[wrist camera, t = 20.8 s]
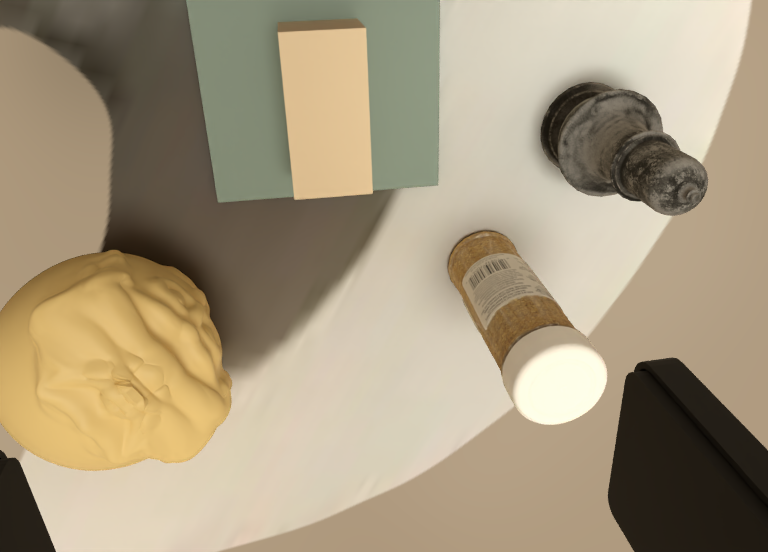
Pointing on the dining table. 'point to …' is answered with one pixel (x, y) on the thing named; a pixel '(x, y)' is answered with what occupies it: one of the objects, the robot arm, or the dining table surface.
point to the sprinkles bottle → (526, 332)
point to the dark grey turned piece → (620, 149)
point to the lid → (318, 95)
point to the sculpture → (111, 364)
